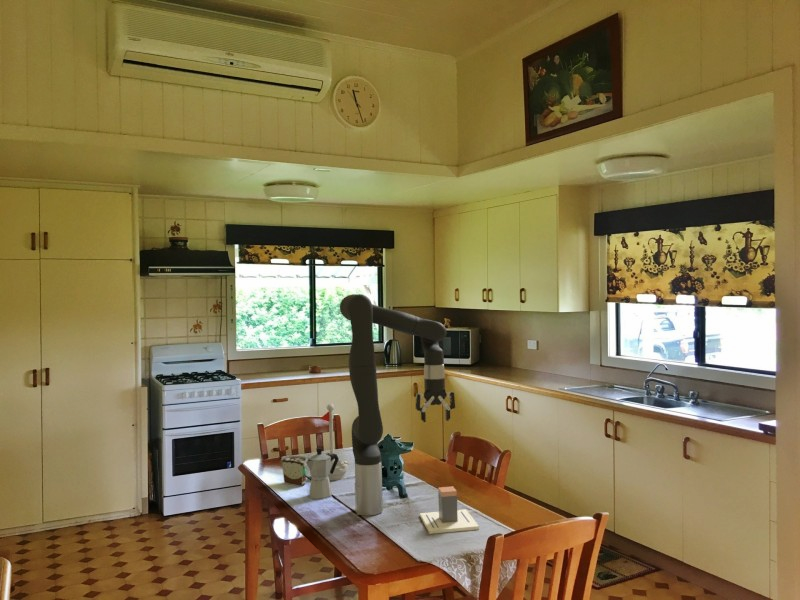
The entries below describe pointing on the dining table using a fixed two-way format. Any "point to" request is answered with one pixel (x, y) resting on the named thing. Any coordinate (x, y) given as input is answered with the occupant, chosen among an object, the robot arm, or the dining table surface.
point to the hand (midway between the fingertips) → (435, 421)
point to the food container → (294, 470)
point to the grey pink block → (447, 504)
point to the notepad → (437, 526)
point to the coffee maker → (321, 474)
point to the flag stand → (340, 467)
